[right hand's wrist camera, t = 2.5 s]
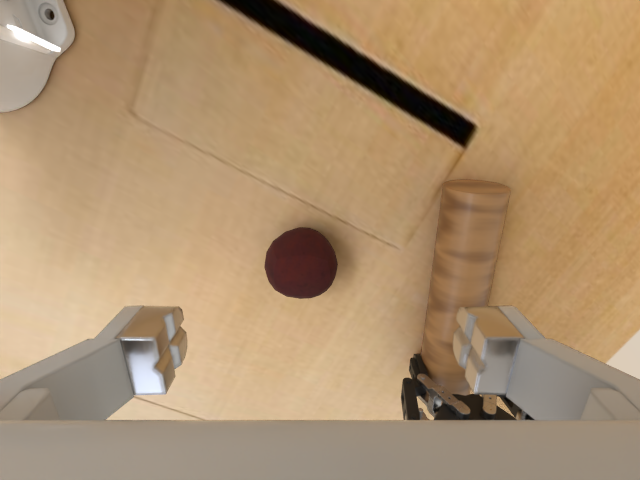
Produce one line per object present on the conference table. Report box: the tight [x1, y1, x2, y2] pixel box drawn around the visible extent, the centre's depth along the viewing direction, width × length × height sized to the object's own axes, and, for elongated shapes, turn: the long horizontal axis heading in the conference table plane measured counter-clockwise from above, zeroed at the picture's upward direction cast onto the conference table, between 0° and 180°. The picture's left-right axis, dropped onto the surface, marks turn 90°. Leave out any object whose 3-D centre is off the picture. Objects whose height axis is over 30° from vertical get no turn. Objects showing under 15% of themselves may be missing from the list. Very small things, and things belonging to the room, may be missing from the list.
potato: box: [265, 228, 338, 299], centre depth 38 cm, size 7×8×7 cm
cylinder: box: [421, 180, 511, 405], centre depth 40 cm, size 26×6×6 cm, turn 0°
